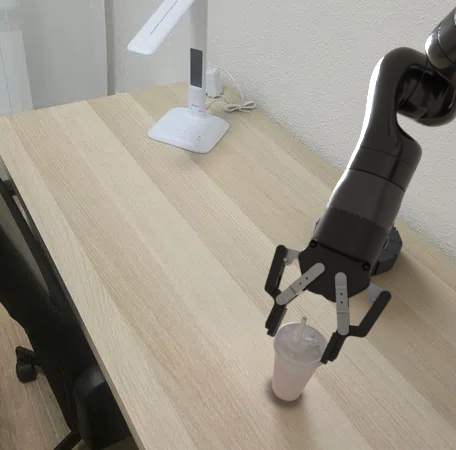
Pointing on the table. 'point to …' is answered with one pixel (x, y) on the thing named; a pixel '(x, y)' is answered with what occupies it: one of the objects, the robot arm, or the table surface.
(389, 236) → the tire
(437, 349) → the table surface
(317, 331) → the smoothie
